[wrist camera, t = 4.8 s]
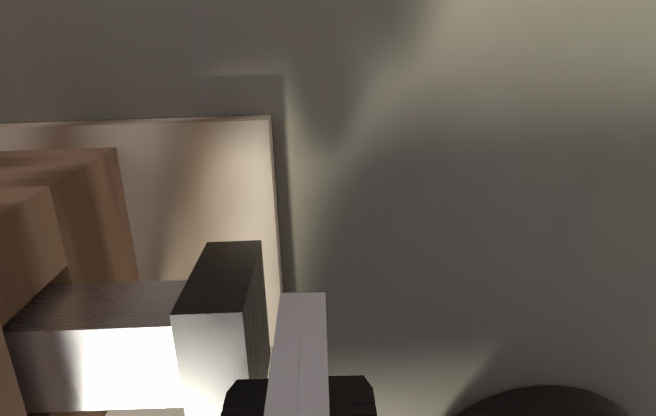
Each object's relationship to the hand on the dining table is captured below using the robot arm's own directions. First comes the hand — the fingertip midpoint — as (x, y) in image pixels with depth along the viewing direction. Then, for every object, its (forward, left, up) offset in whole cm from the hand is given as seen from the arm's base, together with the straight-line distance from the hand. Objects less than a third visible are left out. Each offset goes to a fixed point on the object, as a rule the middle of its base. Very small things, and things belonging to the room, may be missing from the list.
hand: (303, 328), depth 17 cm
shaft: (+9, 0, -3) cm, 10 cm away
